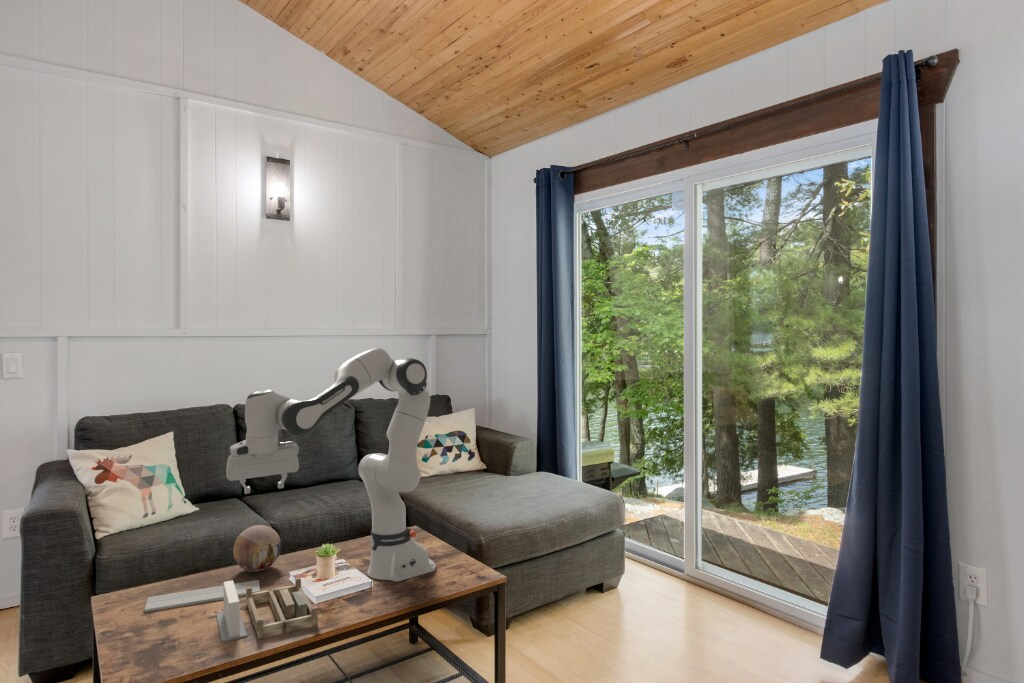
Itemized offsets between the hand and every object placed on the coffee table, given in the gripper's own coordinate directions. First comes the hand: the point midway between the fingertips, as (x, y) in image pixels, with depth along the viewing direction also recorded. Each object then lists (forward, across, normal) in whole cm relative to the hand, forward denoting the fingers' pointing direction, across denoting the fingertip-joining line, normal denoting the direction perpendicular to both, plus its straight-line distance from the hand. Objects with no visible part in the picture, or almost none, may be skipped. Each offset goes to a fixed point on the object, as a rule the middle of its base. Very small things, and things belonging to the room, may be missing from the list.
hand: (264, 490), depth 189 cm
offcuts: (+33, -5, +12) cm, 35 cm away
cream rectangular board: (+32, +12, +13) cm, 37 cm away
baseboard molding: (+33, +17, -13) cm, 39 cm away
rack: (+33, -1, +13) cm, 35 cm away
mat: (+32, +12, +13) cm, 37 cm away
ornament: (+34, 0, -26) cm, 42 cm away
